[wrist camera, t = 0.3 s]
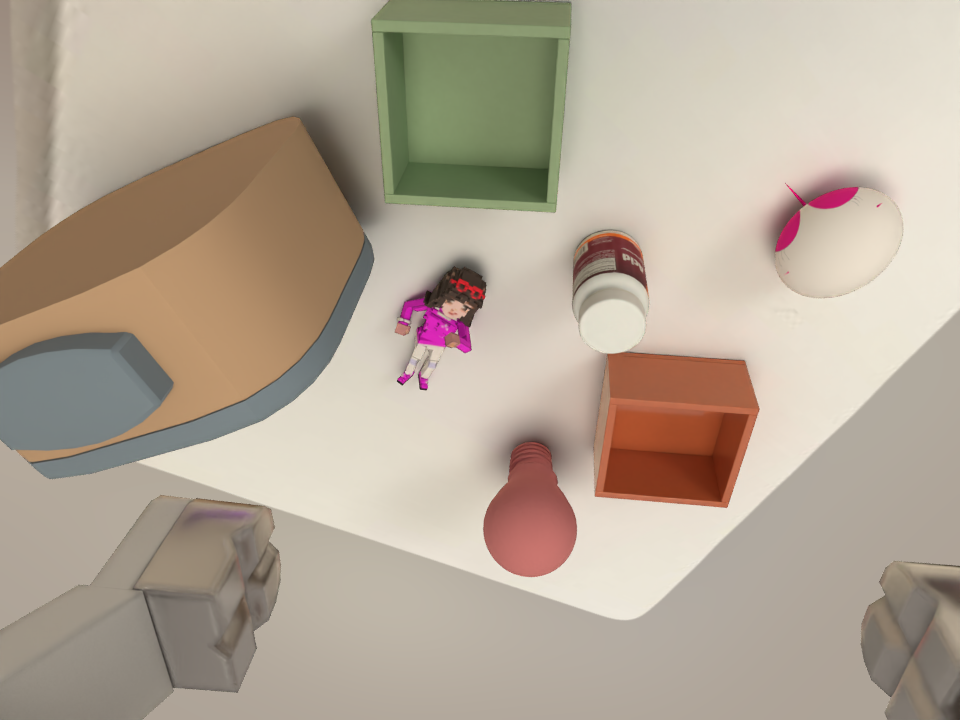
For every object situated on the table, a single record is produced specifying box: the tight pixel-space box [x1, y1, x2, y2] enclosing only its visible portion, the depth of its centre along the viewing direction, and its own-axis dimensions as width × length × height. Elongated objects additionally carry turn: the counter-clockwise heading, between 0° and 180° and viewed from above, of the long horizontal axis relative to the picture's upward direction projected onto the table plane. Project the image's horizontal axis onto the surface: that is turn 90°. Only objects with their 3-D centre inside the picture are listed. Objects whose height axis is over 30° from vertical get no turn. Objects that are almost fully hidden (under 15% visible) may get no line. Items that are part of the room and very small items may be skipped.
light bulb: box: [483, 442, 577, 577], centre depth 57 cm, size 7×7×12 cm
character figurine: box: [395, 266, 486, 390], centre depth 53 cm, size 6×5×12 cm
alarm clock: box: [0, 117, 374, 479], centre depth 42 cm, size 21×10×22 cm, turn 113°
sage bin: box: [371, 0, 571, 212], centre depth 42 cm, size 10×10×6 cm
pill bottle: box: [572, 230, 649, 354], centre depth 47 cm, size 5×5×8 cm
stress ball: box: [775, 183, 903, 298], centre depth 45 cm, size 8×8×7 cm
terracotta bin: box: [593, 352, 759, 508], centre depth 56 cm, size 10×10×6 cm
